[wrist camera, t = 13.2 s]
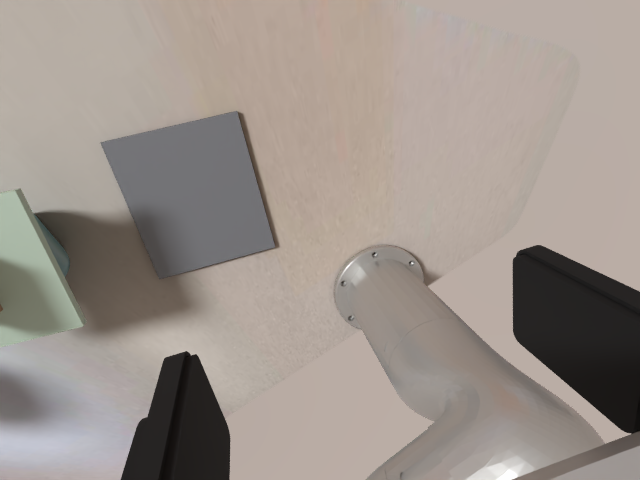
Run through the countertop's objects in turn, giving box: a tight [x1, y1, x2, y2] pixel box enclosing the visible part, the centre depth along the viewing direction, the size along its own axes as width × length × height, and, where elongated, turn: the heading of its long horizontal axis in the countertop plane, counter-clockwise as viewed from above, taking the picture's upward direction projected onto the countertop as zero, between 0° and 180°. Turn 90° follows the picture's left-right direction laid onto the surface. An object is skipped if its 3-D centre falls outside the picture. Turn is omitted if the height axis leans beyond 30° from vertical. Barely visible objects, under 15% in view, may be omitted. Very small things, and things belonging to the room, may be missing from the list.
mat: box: [101, 111, 275, 279], centre depth 41 cm, size 16×14×1 cm
